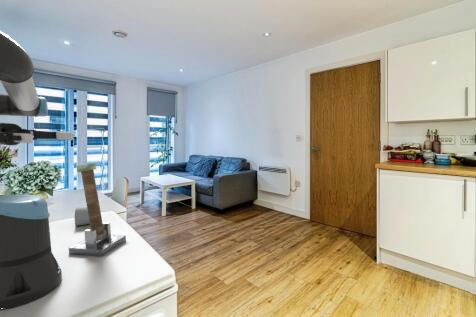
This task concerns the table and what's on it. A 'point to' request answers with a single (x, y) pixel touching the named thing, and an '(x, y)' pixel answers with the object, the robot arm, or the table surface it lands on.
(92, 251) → the stand base
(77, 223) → the ceramic mug
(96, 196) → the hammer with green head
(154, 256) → the table surface
